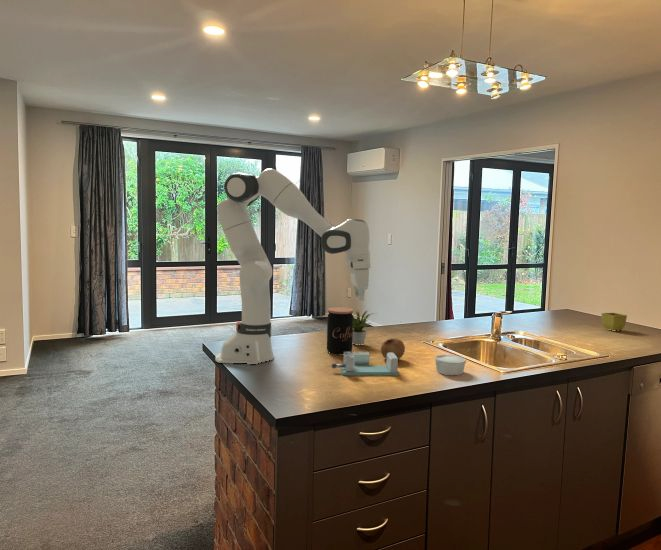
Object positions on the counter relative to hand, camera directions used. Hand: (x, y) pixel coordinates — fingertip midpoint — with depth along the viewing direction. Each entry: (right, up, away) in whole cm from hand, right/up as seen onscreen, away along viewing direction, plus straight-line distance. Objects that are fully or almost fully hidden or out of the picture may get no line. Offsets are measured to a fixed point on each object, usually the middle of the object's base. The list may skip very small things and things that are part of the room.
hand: (359, 298), depth 185 cm
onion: (+14, -25, +10) cm, 30 cm away
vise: (+3, -26, -7) cm, 28 cm away
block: (0, -26, 0) cm, 26 cm away
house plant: (+3, -22, +34) cm, 40 cm away
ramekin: (+33, -27, -5) cm, 43 cm away
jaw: (-7, -25, -8) cm, 27 cm away
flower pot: (+140, -21, +77) cm, 162 cm away
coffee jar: (-7, -24, +20) cm, 32 cm away
